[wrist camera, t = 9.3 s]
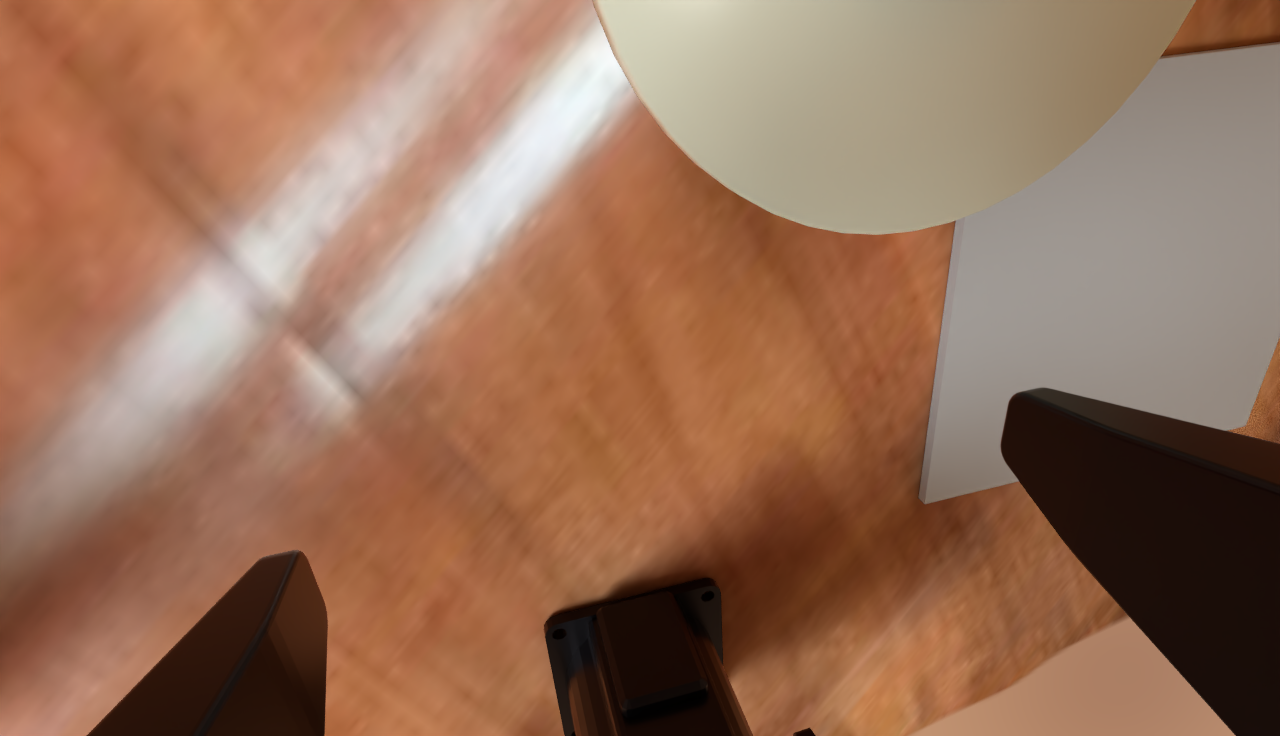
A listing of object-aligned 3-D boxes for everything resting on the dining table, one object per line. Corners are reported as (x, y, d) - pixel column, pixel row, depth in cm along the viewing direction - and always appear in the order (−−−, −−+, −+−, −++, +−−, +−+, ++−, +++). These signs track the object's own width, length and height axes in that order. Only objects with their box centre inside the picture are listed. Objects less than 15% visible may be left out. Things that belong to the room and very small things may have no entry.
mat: (1236, 421, 30) (1245, 426, 30) (918, 497, 27) (924, 504, 27) (1383, 29, 23) (1397, 29, 23) (975, 79, 20) (984, 80, 20)
